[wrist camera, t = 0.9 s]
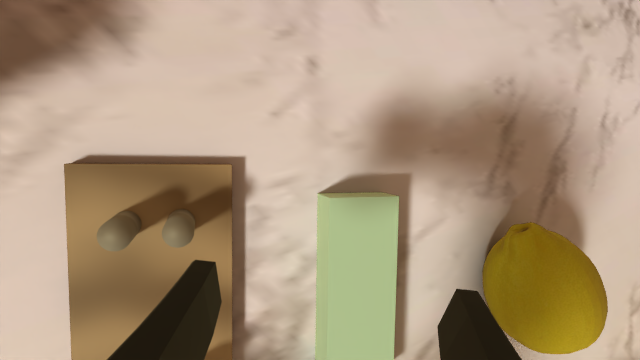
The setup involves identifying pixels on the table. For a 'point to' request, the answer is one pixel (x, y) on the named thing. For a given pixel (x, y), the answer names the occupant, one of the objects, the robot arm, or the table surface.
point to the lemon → (544, 290)
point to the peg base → (142, 246)
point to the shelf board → (356, 275)
